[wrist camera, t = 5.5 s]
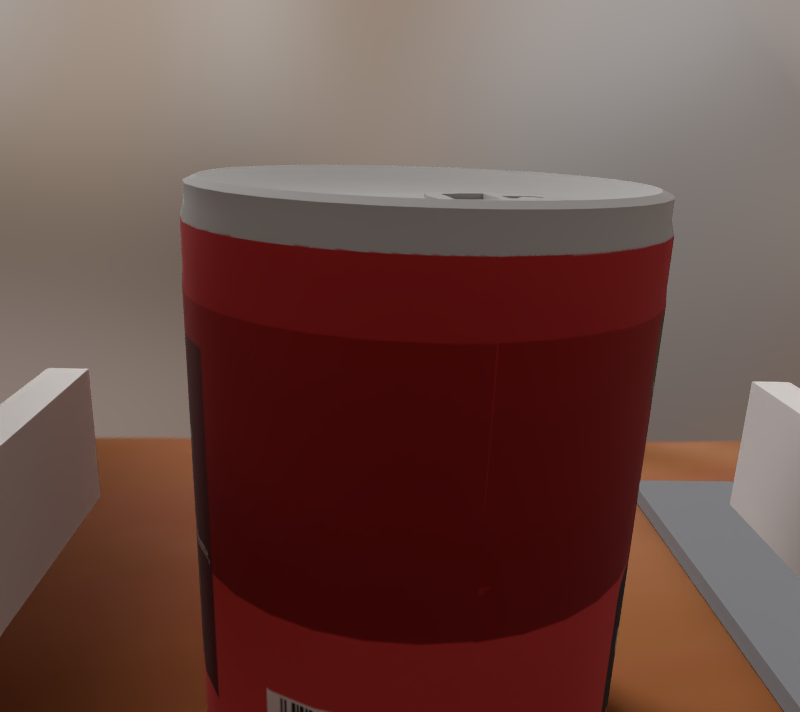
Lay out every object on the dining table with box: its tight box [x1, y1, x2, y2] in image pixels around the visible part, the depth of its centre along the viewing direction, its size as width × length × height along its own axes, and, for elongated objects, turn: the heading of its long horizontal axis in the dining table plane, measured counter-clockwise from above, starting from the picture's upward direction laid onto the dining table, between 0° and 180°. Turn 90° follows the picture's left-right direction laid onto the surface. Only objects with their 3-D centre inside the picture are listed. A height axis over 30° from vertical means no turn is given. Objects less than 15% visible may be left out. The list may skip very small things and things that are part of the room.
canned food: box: [180, 165, 675, 712], centre depth 14 cm, size 8×8×11 cm
